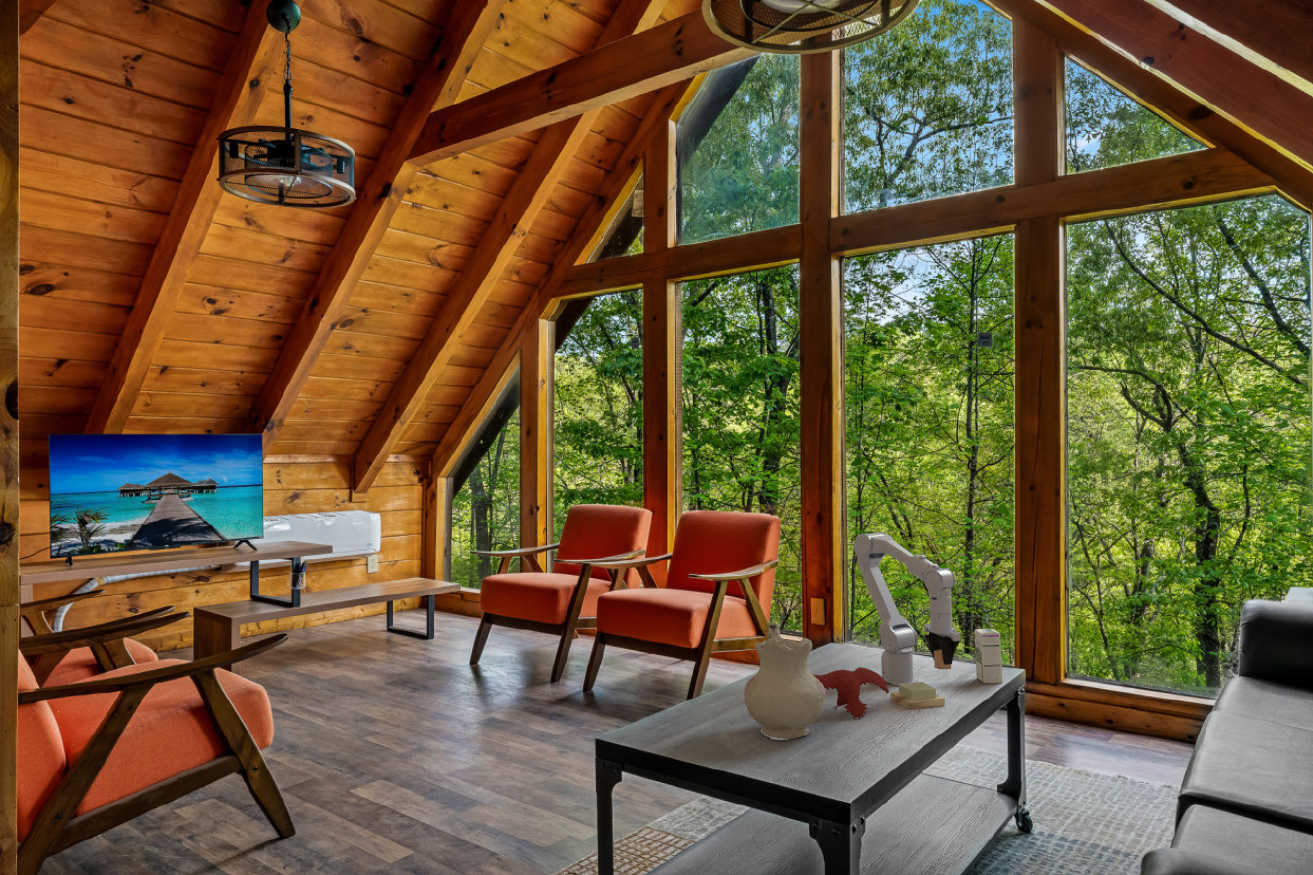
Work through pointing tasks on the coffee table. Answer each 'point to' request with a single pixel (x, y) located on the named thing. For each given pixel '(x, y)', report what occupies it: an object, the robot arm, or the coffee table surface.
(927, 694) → the sage slab
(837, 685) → the decorative bird sculpture
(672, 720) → the coffee table surface
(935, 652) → the peach domed cylinder
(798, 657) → the ceramic pitcher
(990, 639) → the syrup box
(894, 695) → the maple slab
